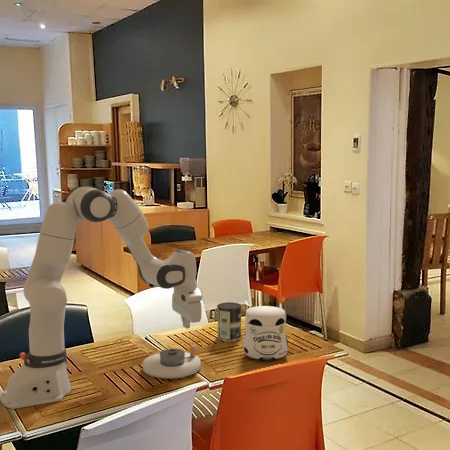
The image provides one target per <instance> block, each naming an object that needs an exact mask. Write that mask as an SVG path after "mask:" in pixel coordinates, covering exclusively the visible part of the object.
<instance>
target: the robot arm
mask: <svg viewBox="0 0 450 450" xmlns="http://www.w3.org/2000/svg"><path fill="white" fill-rule="evenodd" d="M83 220H84V221H86V222H87V221H88V222H91V223H101V222H103V221H104V222H105V221H106V220H109V221H110V223H111V225H112V226H113V228H114V229H115V231H116V233H118V235H119V236H120V238H121V239H122V240H123V242H124V244H125V245H126V248H128V250H129V252H130V254H131V255H132V257H133V259H134V260H135V263H136V265H137V269H138V274H139V278H141V280H142V281H143V282H144V283H146V284H149V285H153V286H156V287H158V288H161V289H164V290H165V289H167V290H169V289H172V288H173V293H172V297H171V307H172V310H173V311H174V312H175V313H177V314H178V315H180V319H181V322H182V327H183V328H185V329H188V330H189V329H190V328H191V323H192V324H193V323H199V322H201V320H202V301H203V295H202V294H201V292H200V291H199V288H198V283H197V279H196V276H197V260H196V256H195V253H193V252H192V251H189V250H184V249H176V250H174V251H173V253H172V254H171V255H170V256H169V257H168V258H166V259H164V260H162V259H159V258H157V257H155V256H154V255H153V254H152V252H151V251H150V250H149V247H148V245H147V244H146V242H145V240H144V237H145V236H146V235H147V233H148V230H149V223H148V220H147V218H146V216H145V214H144V212H143V211H142V209H141V208H140V206H139V205H138V204H137V202H136V201H135V200H134V199H133V198H132V196H131V195H130V194H129V193H127V191H125V190H124V189H114V190H113V189H112V190H111V191H110V192H106V191H104V190H101V189H98V188H96V187H93V186H86V185H80V186H77V187H74V188H73V189H72V190H70V191H69V193H68V194H67V195H66V196H65V198H64V199H63V200H62V201H57V202H53V203H51V204H50V205H49V206H48V207H47V210H46V212H45V215H44V218H43V220H42V224H41V226H40V230H39V235H38V239H37V243H36V248H35V253H34V257H33V260H32V263H31V265H30V268H29V270H28V274H27V276H26V279H25V281H24V284H23V296H24V298H25V300H26V301H27V302H28V303H29V308H30V312H29V313H30V314H29V315H30V316H29V327H28V343H29V351H28V353H26V352H20V353H19V358H20V359H21V360H22V361H23V365H21V366H20V368H19V369H17V370H16V371H14V373H12V374H11V375H10V376H9V378H8V380H7V384H6V389H4V390H2V391H1V392H0V403H1V404H2V406H4V407H6V408H8V409H13V410H16V409H21V408H27V407H33V406H38V405H42V404H43V405H44V404H49V403H55V402H60V401H62V399H63V398H64V397H65V396H66V395H68V394H69V393H70V392H71V391H72V384H71V383H70V380H69V376H68V371H67V370H68V369H67V363H68V362H67V360H68V356H67V355H68V354H67V350H66V347H65V329H64V328H65V326H64V325H65V318H66V309H67V307H66V306H67V302H68V298H67V297H68V296H67V292H66V290H65V288H64V287H63V286H62V284H61V280H62V278H63V275H64V273H65V271H66V268H67V266H68V265H69V263H70V261H71V257H72V253H73V252H72V251H73V247H74V242H75V238H76V231H77V229H78V226H79V225H80V223H82V221H83Z"/></svg>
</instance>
